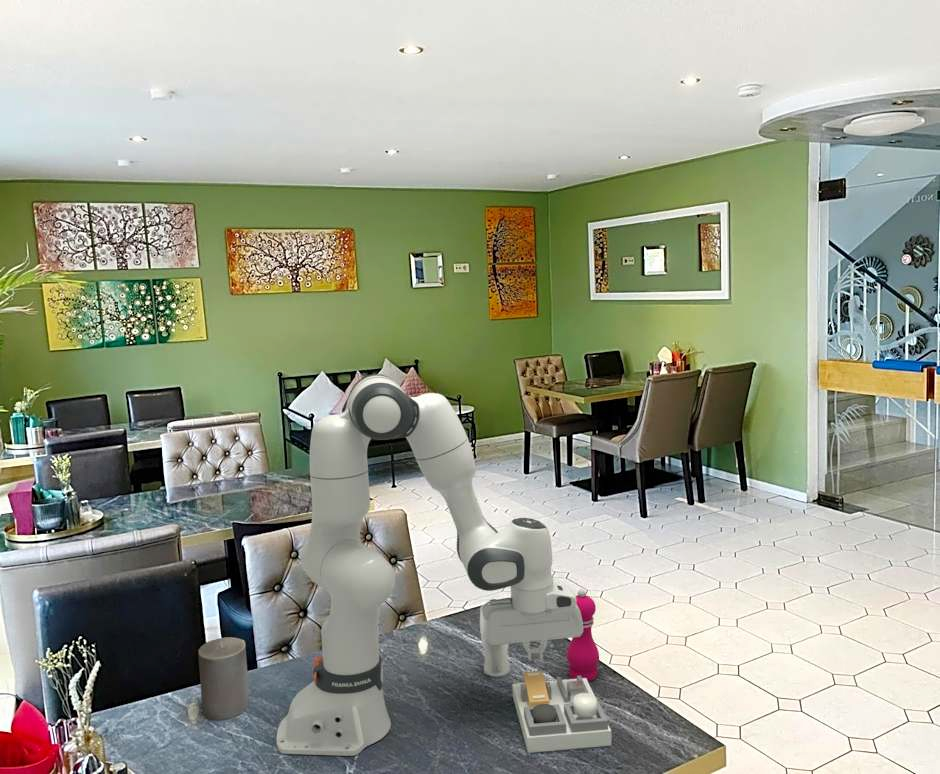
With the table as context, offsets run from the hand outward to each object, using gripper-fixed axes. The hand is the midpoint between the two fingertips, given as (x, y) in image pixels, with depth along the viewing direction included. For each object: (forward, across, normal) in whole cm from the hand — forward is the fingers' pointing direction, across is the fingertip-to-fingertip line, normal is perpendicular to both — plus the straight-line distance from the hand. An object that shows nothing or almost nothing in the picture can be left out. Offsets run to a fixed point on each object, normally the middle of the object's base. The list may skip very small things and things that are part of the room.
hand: (535, 658), depth 159 cm
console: (+10, +3, -7) cm, 12 cm away
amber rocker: (+5, -1, -3) cm, 6 cm away
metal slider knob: (+7, +7, -5) cm, 11 cm away
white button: (+5, +7, -13) cm, 15 cm away
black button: (+6, -1, -13) cm, 14 cm away
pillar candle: (+9, -66, +8) cm, 67 cm away
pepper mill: (+11, +12, +10) cm, 19 cm away
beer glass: (+10, -7, +15) cm, 20 cm away
